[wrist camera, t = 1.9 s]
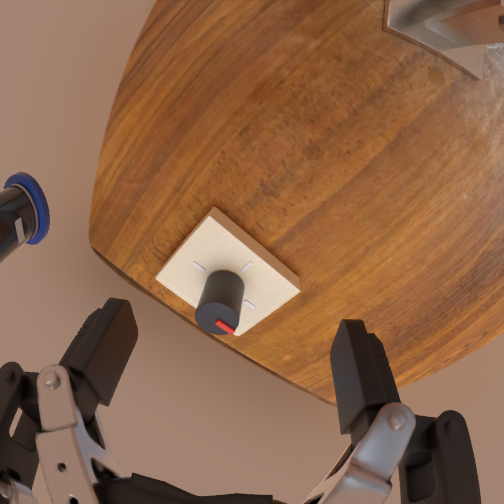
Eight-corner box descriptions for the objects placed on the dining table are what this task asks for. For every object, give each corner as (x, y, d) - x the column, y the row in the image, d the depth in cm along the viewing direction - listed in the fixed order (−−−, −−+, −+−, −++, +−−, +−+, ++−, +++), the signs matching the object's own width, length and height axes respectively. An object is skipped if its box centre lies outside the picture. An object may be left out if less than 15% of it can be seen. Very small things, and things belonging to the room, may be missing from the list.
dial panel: (162, 266, 30) (154, 279, 28) (214, 205, 26) (208, 215, 24) (240, 322, 34) (237, 338, 32) (299, 277, 30) (301, 292, 27)
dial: (198, 285, 28) (185, 320, 24) (222, 262, 26) (211, 297, 22) (227, 306, 29) (220, 343, 25) (252, 286, 28) (248, 323, 23)
